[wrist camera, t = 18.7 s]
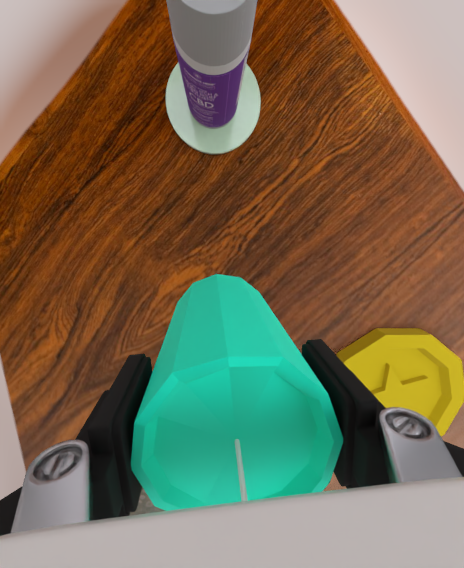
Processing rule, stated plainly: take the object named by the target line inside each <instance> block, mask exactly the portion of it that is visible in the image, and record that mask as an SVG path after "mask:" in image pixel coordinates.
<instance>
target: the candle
mask: <svg viewBox="0 0 464 568" xmlns="http://www.w3.org/2000/svg"><path fill="white" fill-rule="evenodd" d="M342 445H343V436H342V433H341V430H340V427H339V424H338V421H337V418H336V415H335V412H334V409H333V406H332V404H331V401H330V398H329V395H328V393H327V392H326V390H325V389H324V387H323V386H322V384H321V383H320V381H319V380H318V378H317V377H316V375H315V374H314V372H313V371H312V369H311V368H310V366H309V365H308V363H307V362H306V361H305V359H304V358H303V356H302V355H301V353H300V352H299V350H298V349H297V347H296V346H295V344H294V343H293V341H292V340H291V338H290V337H289V335H288V334H287V332H286V331H285V330H284V328H283V327H282V325H281V324H280V322H279V321H278V319H277V318H276V316H275V315H274V313H273V312H272V310H271V309H270V307H269V306H268V304H267V303H266V301H265V300H264V299H263V297H262V296H261V294H260V293H259V292H258V291H257V290H256V289H255V288H253V287H252V286H251V285H250V284H248V283H247V282H246V281H244V280H243V279H242V278H240V277H234V276H227V275H220V274H215V275H212V276H210V277H207V278H205V279H202V280H199V281H197V282H194V283H193V284H192V285H191V286H190V287H189V289H188V290H187V291H186V292H185V294H184V295H183V296H182V297H181V299H180V300H179V301H178V303H177V306H176V308H175V311H174V314H173V317H172V319H171V322H170V325H169V328H168V331H167V333H166V336H165V339H164V342H163V344H162V347H161V350H160V353H159V356H158V358H157V361H156V364H155V367H154V369H153V372H152V375H151V378H150V380H149V383H148V386H147V389H146V392H145V394H144V397H143V400H142V403H141V405H140V408H139V411H138V414H137V417H136V419H135V422H134V431H133V443H132V455H131V468H132V471H133V473H134V475H135V476H136V478H137V479H138V481H139V482H140V484H141V486H142V487H143V489H144V490H145V492H146V494H147V495H148V497H149V498H150V500H151V501H152V503H153V505H154V506H155V507H158V508H160V509H163V510H165V511H170V510H177V509H185V508H193V507H201V506H209V505H217V504H225V503H233V502H241V501H249V500H257V499H265V498H274V497H282V496H290V495H298V494H307V493H315V492H322V491H323V490H324V489H325V487H326V486H327V485H328V484H329V483H330V480H331V477H332V474H333V471H334V468H335V465H336V462H337V459H338V456H339V453H340V450H341V447H342Z"/></svg>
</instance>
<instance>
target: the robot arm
mask: <svg viewBox="0 0 464 568" xmlns="http://www.w3.org/2000/svg"><path fill="white" fill-rule="evenodd" d="M302 356H303V358H304V359H305V361H306V362H307V363H308V365H309V366H310V368H311V369H312V371H313V372H314V374H315V375H316V377H317V378H318V380H319V381H320V383H321V384H322V386H323V387H324V389H325V390H326V392H327V393H328V395H329V398H330V401H331V404H332V406H333V409H334V412H335V415H336V418H337V421H338V424H339V427H340V430H341V433H342V436H343V445H342V447H341V450H340V453H339V456H338V459H337V462H336V465H335V468H334V473H335V475H336V477H337V479H338V481H339V483H340V485H341V486H346V488H347V489H341V490H332V491H324V492H315V493H307V494H298V495H290V496H282V497H274V498H265V499H257V500H249V501H241V502H233V503H225V504H217V505H209V506H201V507H193V508H185V509H177V510H170V511H162V512H154V513H146V514H139V515H131V516H130V512H135V511H136V509H137V506H138V502H139V498H140V494H141V490H142V486H141V484H140V482H139V481H138V479H137V478H136V476H135V475H134V473H133V471H132V468H131V455H132V443H133V431H134V422H135V419H136V417H137V414H138V411H139V408H140V405H141V403H142V400H143V397H144V394H145V392H146V389H147V386H148V383H149V380H150V378H151V375H152V366H151V359H150V357H146V356H145V354H137V355H129V357H128V358H127V360H126V362H125V364H124V365H123V367H122V369H121V371H120V372H119V374H118V376H117V378H116V379H115V381H114V383H113V385H112V386H111V388H110V390H107V391H105V392H104V393H103V394H102V396H101V397H100V399H99V401H98V402H97V404H96V406H95V407H94V409H93V411H92V413H91V414H90V416H89V418H88V419H87V421H86V423H85V424H84V426H83V428H82V429H81V431H80V433H79V434H78V436H77V438H76V439H75V440H68V441H64V442H60V443H58V444H56V445H53V446H51V447H50V448H48V449H47V450H45V451H43V452H42V453H41V454H40V455H39V456H37V457H36V458H35V459H34V461H33V462H32V463H31V464H30V465H29V467H28V470H27V472H26V475H25V479H24V483H23V486H22V487H21V488H19V489H17V490H16V491H14V492H13V493H11V494H9V495H8V496H7V497H5V498H3V499H2V500H0V568H464V449H463V448H460V447H457V446H455V445H452V444H450V443H447V442H444V441H443V440H442V438H441V436H440V434H439V432H438V430H437V429H436V427H435V426H434V425H433V423H432V422H431V421H430V420H428V419H427V418H426V417H424V416H423V415H421V414H419V413H417V412H415V411H412V410H410V409H406V408H401V407H389V408H385V407H384V406H383V404H382V403H381V402H380V401H379V400H378V399H377V398H376V397H375V396H374V395H373V394H372V393H371V392H370V390H369V389H368V388H367V387H366V386H365V385H364V384H363V383H362V382H361V381H360V380H359V379H358V378H357V376H356V375H355V374H354V373H353V372H352V371H351V370H350V369H348V368H347V367H346V365H345V364H344V363H343V362H342V361H341V360H340V359H339V358H338V357H337V356H336V355H335V354H334V352H333V351H332V350H331V349H330V348H329V347H328V346H327V345H326V344H325V343H324V342H323V341H322V340H321V339H318V340H307V342H306V344H303V345H302Z"/></svg>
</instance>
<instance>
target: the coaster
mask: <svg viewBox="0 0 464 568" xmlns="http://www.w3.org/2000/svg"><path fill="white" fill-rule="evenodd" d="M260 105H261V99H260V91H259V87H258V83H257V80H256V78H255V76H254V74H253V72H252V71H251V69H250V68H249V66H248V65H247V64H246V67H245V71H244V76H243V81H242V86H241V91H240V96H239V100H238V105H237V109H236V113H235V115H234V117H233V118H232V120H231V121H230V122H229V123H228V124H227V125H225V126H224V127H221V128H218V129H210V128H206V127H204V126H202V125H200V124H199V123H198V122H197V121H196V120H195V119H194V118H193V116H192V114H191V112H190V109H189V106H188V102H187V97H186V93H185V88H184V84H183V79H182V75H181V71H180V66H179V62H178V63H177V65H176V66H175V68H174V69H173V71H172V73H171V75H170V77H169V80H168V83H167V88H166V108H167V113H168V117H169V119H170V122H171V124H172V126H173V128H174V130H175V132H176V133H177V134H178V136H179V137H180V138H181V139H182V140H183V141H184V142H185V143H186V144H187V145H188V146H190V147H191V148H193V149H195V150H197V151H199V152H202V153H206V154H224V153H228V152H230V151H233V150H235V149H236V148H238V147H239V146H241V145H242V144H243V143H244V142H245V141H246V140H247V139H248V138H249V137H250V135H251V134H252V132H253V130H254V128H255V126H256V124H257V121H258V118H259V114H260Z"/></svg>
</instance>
